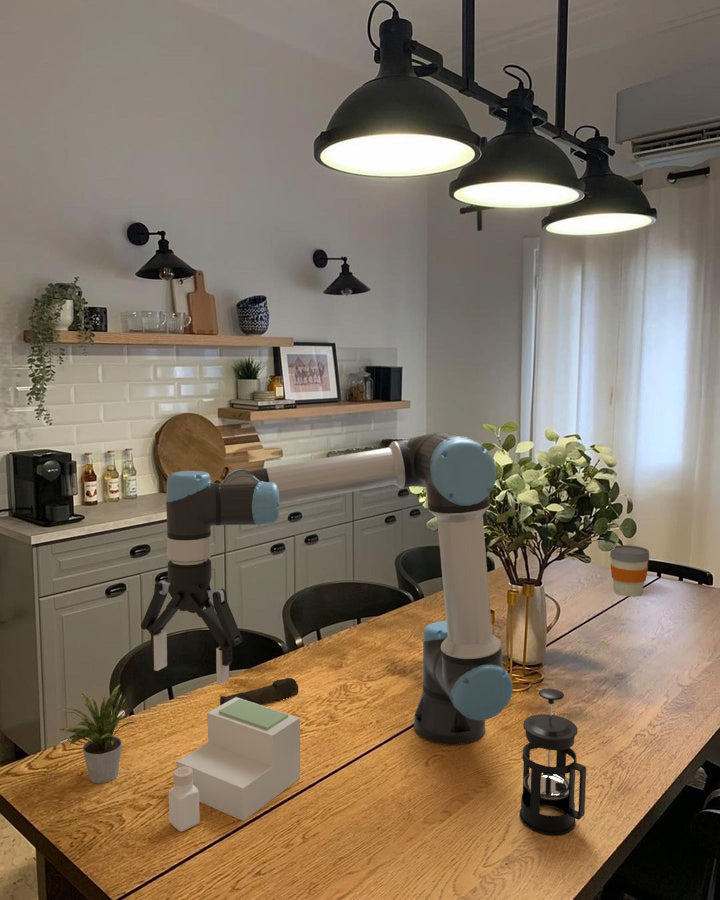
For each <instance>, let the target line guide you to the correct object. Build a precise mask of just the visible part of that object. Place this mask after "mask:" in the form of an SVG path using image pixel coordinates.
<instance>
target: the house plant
mask: <svg viewBox="0 0 720 900" xmlns="http://www.w3.org/2000/svg"><path fill="white" fill-rule="evenodd" d="M120 686H121V683H118V685H116V686H115V688H114V689H113V691H112V692H111V694H110V696H109V697H108V699H107V701H106V696H104V697H103V698H102V702H101V706H100V712H99V709H98V705H97V702H96V700H95V699H93V697H90V696H86V695H85V694H84V693H82V692H80V691H77V693H78V694H79V695H80V696H81V697H82V698H83V700H84V701H85V703H84V706H86V707H87V708H88V711H89V713H90V714H91V717H92V718H93V720H92V719H91V718H90V717H89V716H87V715H86V714H85V713H83V712H82V711H80V710H79V709H75V708H60V709H56V710H59V711H60V710H61V711H67V712H66V714H69V713H70V714H75V715H77V716H79V719H81V720H82V721H81V722H78V724H77V726H83V727H84V726H85V727H86V728H83V727H82V728H81V727H65V728H59V729H58V730H60V731H64V732H66V733H70V734H71V733H72V735H70V737H69V738H67V741H69V740H70V742H69V744H68V747H70V746H71V745H73V744H74V743H76V742H78V741H79V740H82V739H83V740H86V741H87V742H85V744H84V745H83V746H82V751H83V756H84V760H85V764H86V770H87V773H88V778H89V781H91V782H92V783H94V784H105V782H106V783H108V782H112V781H114V780H115V779H116V778H117V777H118V775H119V767H120V760H121V755H122V754H121V753H122V748H123V747H122V746H123V740H122V739H121V738H120V737H118V736H115V735H116V733H117V732H118V731H119V730H120V729H122V728H124V727H125V726H127V725H130V724H135V725H136V723H135V722H134V721H128V722H126V723H124V724H123V725H120V726H119V728H118V729H117V730H116V731H115V729H116V728H117V726H118V725H119V723H120V722H119V721H120V718H121V717H122V716H123V715H124V714H125V712H127V711H128V710H129V709H130V707H129V708H127V709H126V710H124V711H123V712H122V713H121V714H120V712H121V710H122V708H123V707H124V706H123V705H124V703H125V701H126V699H127V696H125V697H124V699H123V701H122V702H121V704H120V701H121V698H122V692H121V693H120V695H119V697H118V698H117V701H116V703H115V706H114V708H113V705H114V702H115V699H116V696H117V694H118V692H119V688H120ZM91 702H92V703H91ZM92 704H93V705H92ZM119 704H120V706H119ZM93 707H94V708H93ZM117 709H118V710H117ZM79 714H80V715H79ZM73 719H77V717H75V718H73ZM111 780H112V781H111Z"/></svg>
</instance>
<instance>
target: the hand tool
mask: <svg viewBox="0 0 720 900" xmlns="http://www.w3.org/2000/svg"><path fill="white" fill-rule="evenodd" d="M294 695H295V696H296V695H299V685H298V683H297V681H296V679H294V678H292V677H287V678H281V679H276V680H274V681H273V682H272V684H269V685H267V686H264V687H260V688H256V689H255V688H254V689H252V690H247V691H243V692H238V693H236V694H231V695H227V696H226V695H225V696H224V695H223V696H222V695H221V696H220V697H219V704H220V705H219V706H221V705H222V704H224V703H226V702H228V701H230V700H232V699H233V698H235V697H237V698H240V699H244V700H247V701H250V702H253V703H256V704H259V705H262V704H264V703H268V702H272V701H275V700H276V701H275V702H281V701H280V700H283V699H286V698H288V699H290V698H289V697H291V696H293V697H295V696H294ZM291 698H292V697H291ZM286 700H287V699H286ZM283 701H284V700H283Z"/></svg>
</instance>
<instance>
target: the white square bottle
mask: <svg viewBox="0 0 720 900" xmlns="http://www.w3.org/2000/svg"><path fill="white" fill-rule="evenodd" d="M172 775H173V776H172V777H173V787H171V789H169V791H168V814H169V815H168V817H169V819H168V820H169V823H170V825H171V826H173V827H174V828H175V829H176V830H178V831H179V832H185V831H186V830H188V829H190V828H192V827H195V826H196V825H198V824H199V823H200V821H201V820H200V819H201V818H200V802H199V791H198V789H197V788H196V787H195V786H194V785H193V770H192V768H190V767H180V768H177V767H176V769H174V771H173V774H172Z"/></svg>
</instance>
